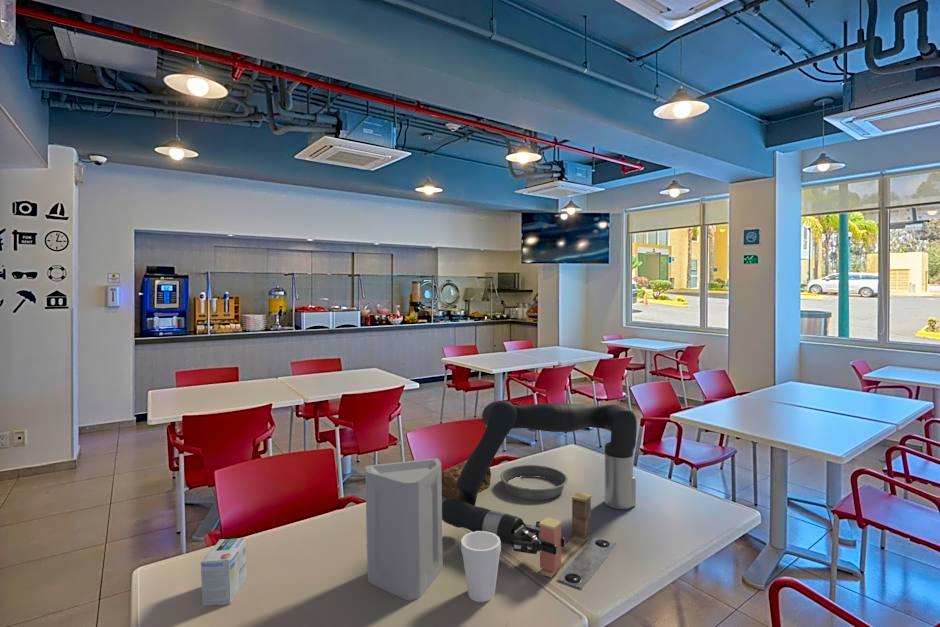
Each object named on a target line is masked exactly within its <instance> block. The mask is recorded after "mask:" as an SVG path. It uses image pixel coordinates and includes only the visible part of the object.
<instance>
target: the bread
mask: <svg viewBox="0 0 940 627" xmlns="http://www.w3.org/2000/svg"><path fill="white" fill-rule="evenodd" d="M467 460H468V459H466V460H463V461H462V462H459V463H458V464H455V465H453V466H450V467H449V468H447V469H444V470H441V478H442V498H444V497H447V498H446V499H448V498H455V499H457V498H458V494H459V490H458V489H457V487H456V483H457V480H458V478H459V476H460V474H461V472H462V470H463V467H464V465H465V463H466V462H467ZM491 478H492V471H491V466H490V467H489V469H488V471H487V473H486V475H485V478H484V480H483V482H482V484H481V487H480V489H479V491H478V493H480V492H482V490H483V491H484V490H486V489H488V488H489V487H490V485H491Z"/></svg>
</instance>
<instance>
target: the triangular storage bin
mask: <svg viewBox="0 0 940 627" xmlns="http://www.w3.org/2000/svg"><path fill="white" fill-rule="evenodd" d="M364 471H365V474H364V475H365V511H366V512H365V516H366V517H365V519H366V520H365V521H366V523H365V524H366V564H367V566H366V569H367V572H366V573H367V580H368V582H369V583H370V584H372V585H373V586H375V587H378V588H380V589H382V590H383V591H386V592H388V593H390V594H392V595H394V596H397V597H399V598H400V599H403V600H405V601H408V602H409V601H413V600H414V601H415V600H418V599H420V598H421V597H422V596H423V595H424V594H425V593H426V591H428V589H429V588H430V587H431V585H432V584H433V582H434V581H435V580H436V578H438V576H440V574H441V572H442V571H443V569H444V568H443V567H444V566H443V562H444V561H443V559H444V558H443V557H444V556H443V520H442V502H443V500H442V498H443V496H442V478H441V472H442V461H441V460H440V459H439V458H427V459H425V458H424V459H417V460H408V461H400V462H399V461H398V462H397V461H395V462H389V463H379V464H378V463H377V464H371V465H366V466H365V470H364Z"/></svg>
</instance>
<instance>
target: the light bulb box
mask: <svg viewBox="0 0 940 627" xmlns="http://www.w3.org/2000/svg"><path fill="white" fill-rule="evenodd" d="M247 570H248V569H247V539H246V538H245V537H240V538H239V537H238V538H224V539H223V538H222V539H218V541H217V542H216V544H215V545H214V546H213V547H212V549H211V550H210V551H209V553H207V555H206V556H205V557H204V558H203V559H202V560H201V561H200V575H201V598H202V599H201V601H202V604H201V605H202V606H204V607H205V606H223V605H224V606H225V605H231V604H232V603H233V600H234V599H235V598H236V596H237V595H238V593H239V592H240V590H241V588H242V587H243V585H244V584H245V582H246V581H247V579H248V576H247V575H248V574H247V573H248V572H247Z"/></svg>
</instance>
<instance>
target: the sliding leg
mask: <svg viewBox="0 0 940 627" xmlns="http://www.w3.org/2000/svg"><path fill="white" fill-rule="evenodd" d="M539 522H540V523H539V526H540V533H539V538H540V540H542V541H543V542H544V541H545V542H548V543H551V544H554V545H557V554H556V555H554V554H551V553H548V552H545V551H542V552H539V566H540V568H541V569H542V568H543V569H546V570H549V571H552V572H555V571H556V570H557V569H558V568H559V567H560V566H561V549H562V546H561V537H562V523H563V522H562V521H561V520H559V519H556V518H551V517H548V516H546V517H545V518H543V519H542V520H541V521H539Z"/></svg>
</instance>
